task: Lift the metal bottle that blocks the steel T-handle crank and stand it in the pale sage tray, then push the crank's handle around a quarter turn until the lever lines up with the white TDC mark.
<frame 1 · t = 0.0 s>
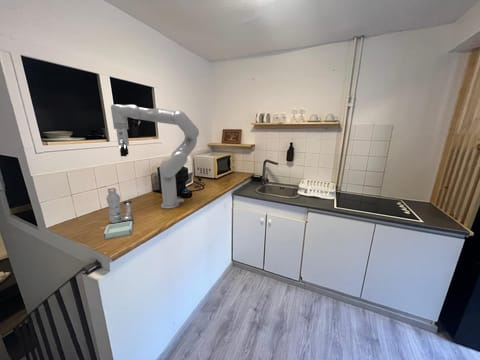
hand: (124, 155, 122), 37 cm above the worktop, tool pointing down, fingers open, 9 cm apart
metal bottle: (116, 222, 115), on the worktop
tray: (119, 232, 104), on the worktop
crank: (127, 210, 116), point 6 cm above the worktop, hinge at -90.0°
crank base: (127, 223, 113), on the worktop
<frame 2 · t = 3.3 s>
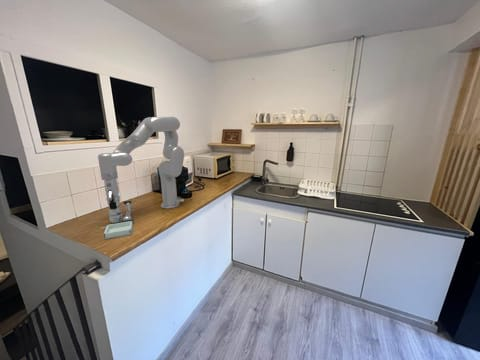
hand: (114, 206, 113), 10 cm above the worktop, tool pointing down, fingers closed on metal bottle, 6 cm apart
metal bottle: (116, 222, 115), on the worktop, touching gripper
everything else where it was.
when the fingers open (12 cm above the worktop, at t = 11.2 s): metal bottle drops 1 cm, resting on tray.
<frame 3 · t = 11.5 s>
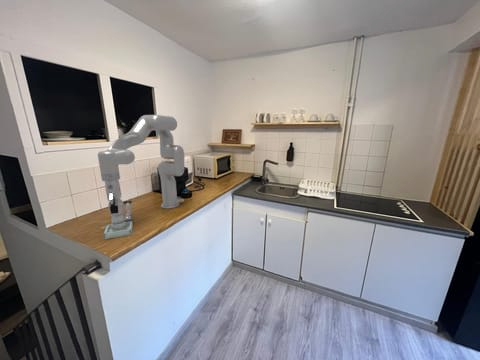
hand: (116, 209, 101), 13 cm above the worktop, tool pointing down, fingers open, 8 cm apart
metal bottle: (119, 231, 104), point 1 cm above the worktop, touching tray
everything else where it was.
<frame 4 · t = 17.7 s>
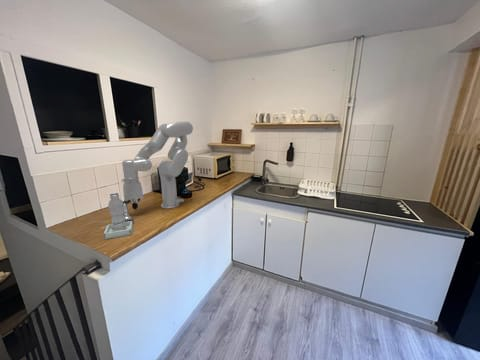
hand: (135, 209, 123), 4 cm above the worktop, tool pointing down, fingers closed
crank: (125, 210, 116), point 6 cm above the worktop, hinge at -82.3°, touching gripper
everything else where it was.
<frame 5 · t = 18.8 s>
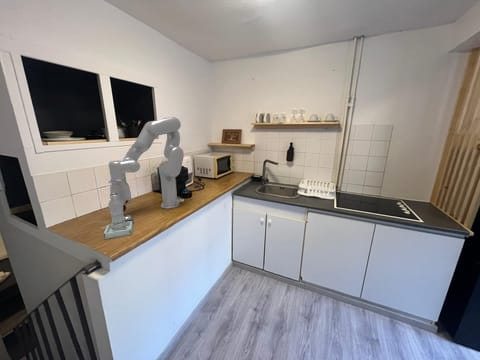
hand: (123, 210, 121), 4 cm above the worktop, tool pointing down, fingers closed
crank: (120, 212, 114), point 6 cm above the worktop, hinge at -48.8°, touching gripper
everything else where it was.
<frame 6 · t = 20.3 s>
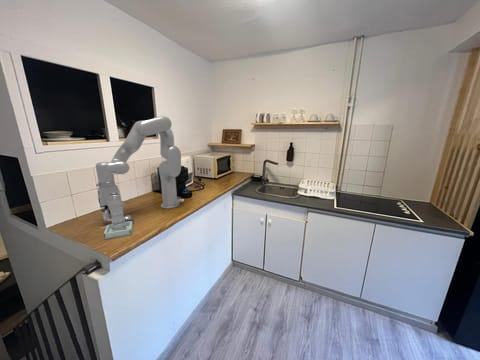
hand: (112, 214, 116), 4 cm above the worktop, tool pointing down, fingers closed
crank: (116, 214, 111), point 6 cm above the worktop, hinge at -17.5°, touching gripper
everything else where it was.
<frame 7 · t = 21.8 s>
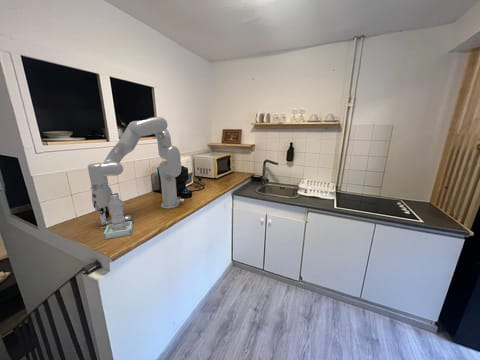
hand: (106, 217, 112), 4 cm above the worktop, tool pointing down, fingers closed
crank: (115, 215, 109), point 6 cm above the worktop, hinge at 3.7°, touching gripper
everything else where it was.
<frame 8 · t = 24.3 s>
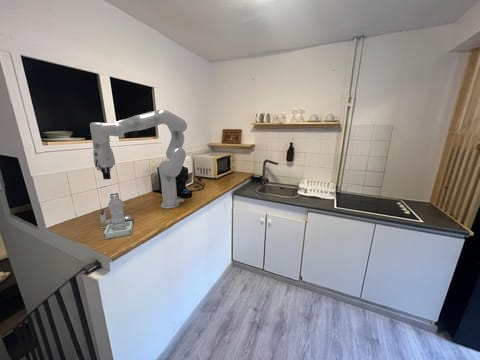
hand: (107, 178, 112), 25 cm above the worktop, tool pointing down, fingers closed
crank: (115, 215, 110), point 6 cm above the worktop, hinge at 0.7°
everything else where it was.
at the end: metal bottle 0.3 cm off-centre on the tray, point 0.6 cm above the tray's base; metal bottle tilted 0°; crank at +1° (first picture: -90°) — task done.
